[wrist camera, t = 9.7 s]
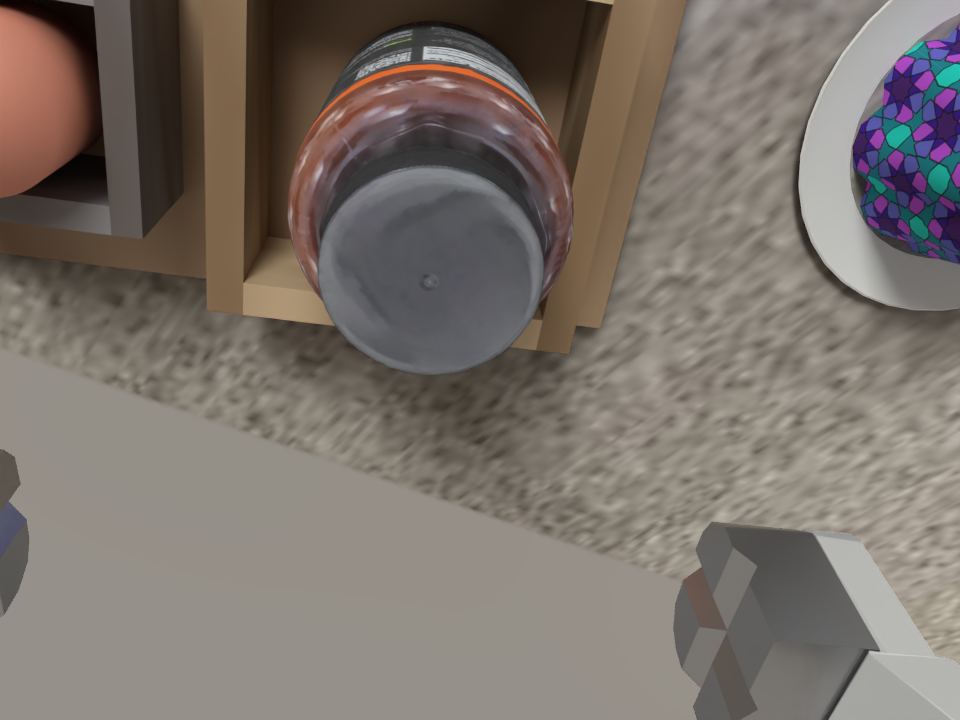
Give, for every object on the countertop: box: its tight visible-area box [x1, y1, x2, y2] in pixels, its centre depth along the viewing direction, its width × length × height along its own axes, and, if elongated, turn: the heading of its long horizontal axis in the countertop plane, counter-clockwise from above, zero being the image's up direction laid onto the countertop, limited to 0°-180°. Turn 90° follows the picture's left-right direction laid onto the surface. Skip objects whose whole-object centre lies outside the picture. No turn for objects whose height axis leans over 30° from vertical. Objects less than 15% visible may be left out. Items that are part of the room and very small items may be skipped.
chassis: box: [0, 0, 687, 354], centre depth 22 cm, size 22×12×5 cm, turn 81°
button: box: [0, 0, 103, 198], centre depth 19 cm, size 4×4×3 cm
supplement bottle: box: [287, 20, 574, 376], centre depth 19 cm, size 6×6×11 cm
